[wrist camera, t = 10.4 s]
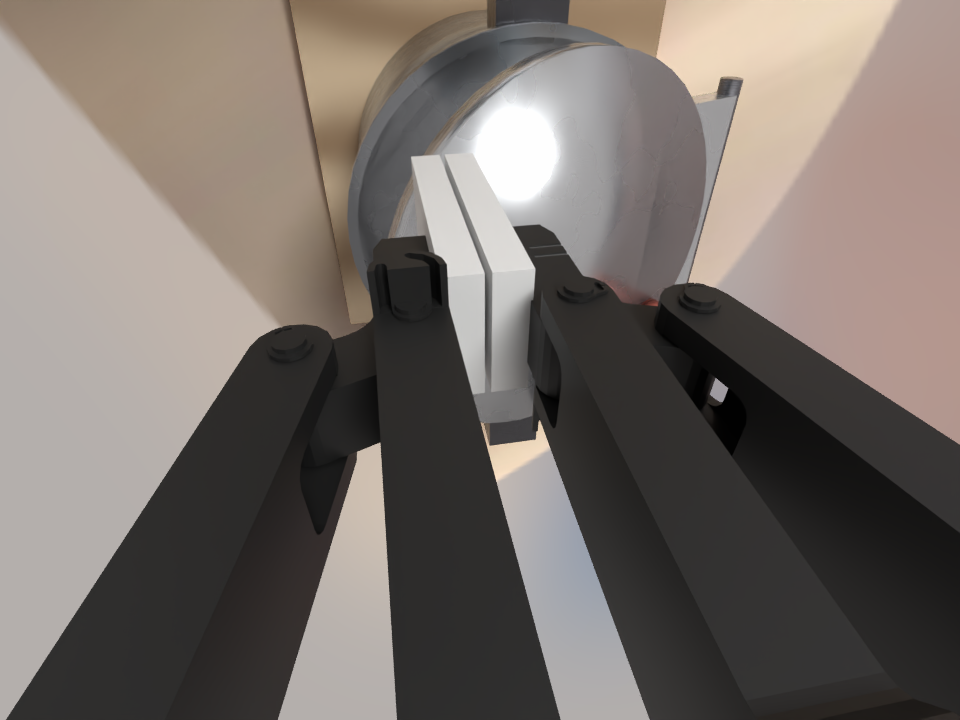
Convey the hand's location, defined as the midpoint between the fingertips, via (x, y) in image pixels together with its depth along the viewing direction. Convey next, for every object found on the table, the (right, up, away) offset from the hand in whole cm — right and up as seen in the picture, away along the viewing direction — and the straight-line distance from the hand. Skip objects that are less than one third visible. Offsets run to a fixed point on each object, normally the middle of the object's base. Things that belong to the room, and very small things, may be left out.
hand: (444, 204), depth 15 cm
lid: (+4, 0, +6) cm, 7 cm away
